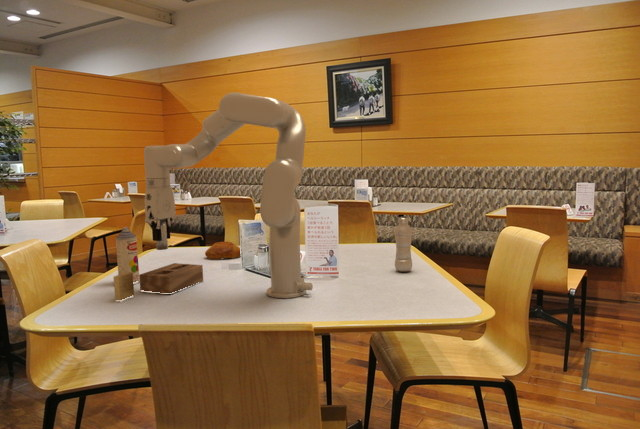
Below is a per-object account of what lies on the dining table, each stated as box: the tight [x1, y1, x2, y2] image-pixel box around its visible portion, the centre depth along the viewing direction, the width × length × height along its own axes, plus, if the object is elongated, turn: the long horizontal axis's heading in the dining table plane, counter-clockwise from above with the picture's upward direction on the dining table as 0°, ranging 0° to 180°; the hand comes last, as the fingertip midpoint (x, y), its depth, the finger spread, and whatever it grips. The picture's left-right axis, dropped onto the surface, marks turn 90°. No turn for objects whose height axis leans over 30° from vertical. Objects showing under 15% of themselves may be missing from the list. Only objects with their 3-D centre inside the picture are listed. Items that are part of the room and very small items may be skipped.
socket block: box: [139, 262, 204, 293], centre depth 169 cm, size 12×18×6 cm, turn 158°
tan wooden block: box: [113, 272, 135, 300], centre depth 155 cm, size 2×6×8 cm, turn 158°
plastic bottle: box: [394, 216, 413, 273], centre depth 182 cm, size 6×7×20 cm
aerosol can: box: [115, 226, 140, 282], centre depth 175 cm, size 7×7×20 cm
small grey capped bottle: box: [154, 219, 169, 251], centre depth 163 cm, size 4×4×11 cm
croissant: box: [204, 241, 241, 260], centre depth 219 cm, size 14×16×8 cm
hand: (161, 239), depth 163 cm, fingers closed on small grey capped bottle, 3 cm apart
